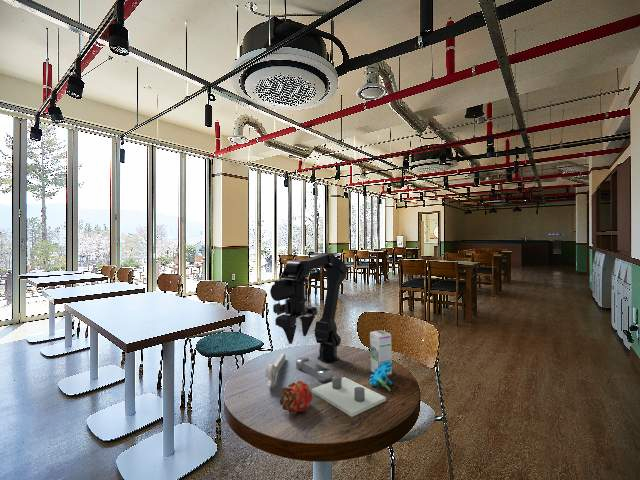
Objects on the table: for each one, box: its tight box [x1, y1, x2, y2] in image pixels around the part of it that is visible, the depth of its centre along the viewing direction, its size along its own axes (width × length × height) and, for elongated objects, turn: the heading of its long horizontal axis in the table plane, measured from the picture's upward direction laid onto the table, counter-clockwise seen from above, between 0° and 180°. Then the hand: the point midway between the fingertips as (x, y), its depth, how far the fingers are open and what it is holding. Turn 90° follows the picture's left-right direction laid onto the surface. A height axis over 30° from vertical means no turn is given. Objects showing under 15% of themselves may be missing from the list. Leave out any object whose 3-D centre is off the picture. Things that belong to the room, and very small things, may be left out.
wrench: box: [264, 353, 286, 389], centre depth 113 cm, size 8×2×30 cm
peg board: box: [311, 375, 387, 418], centre depth 97 cm, size 14×18×4 cm
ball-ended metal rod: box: [295, 356, 333, 384], centre depth 114 cm, size 5×18×3 cm, turn 38°
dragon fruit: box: [279, 380, 313, 416], centre depth 90 cm, size 8×8×12 cm
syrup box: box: [369, 329, 393, 376], centre depth 115 cm, size 6×6×14 cm
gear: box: [368, 360, 393, 392], centre depth 105 cm, size 11×6×10 cm
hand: (297, 339), depth 113 cm, fingers open, 9 cm apart
